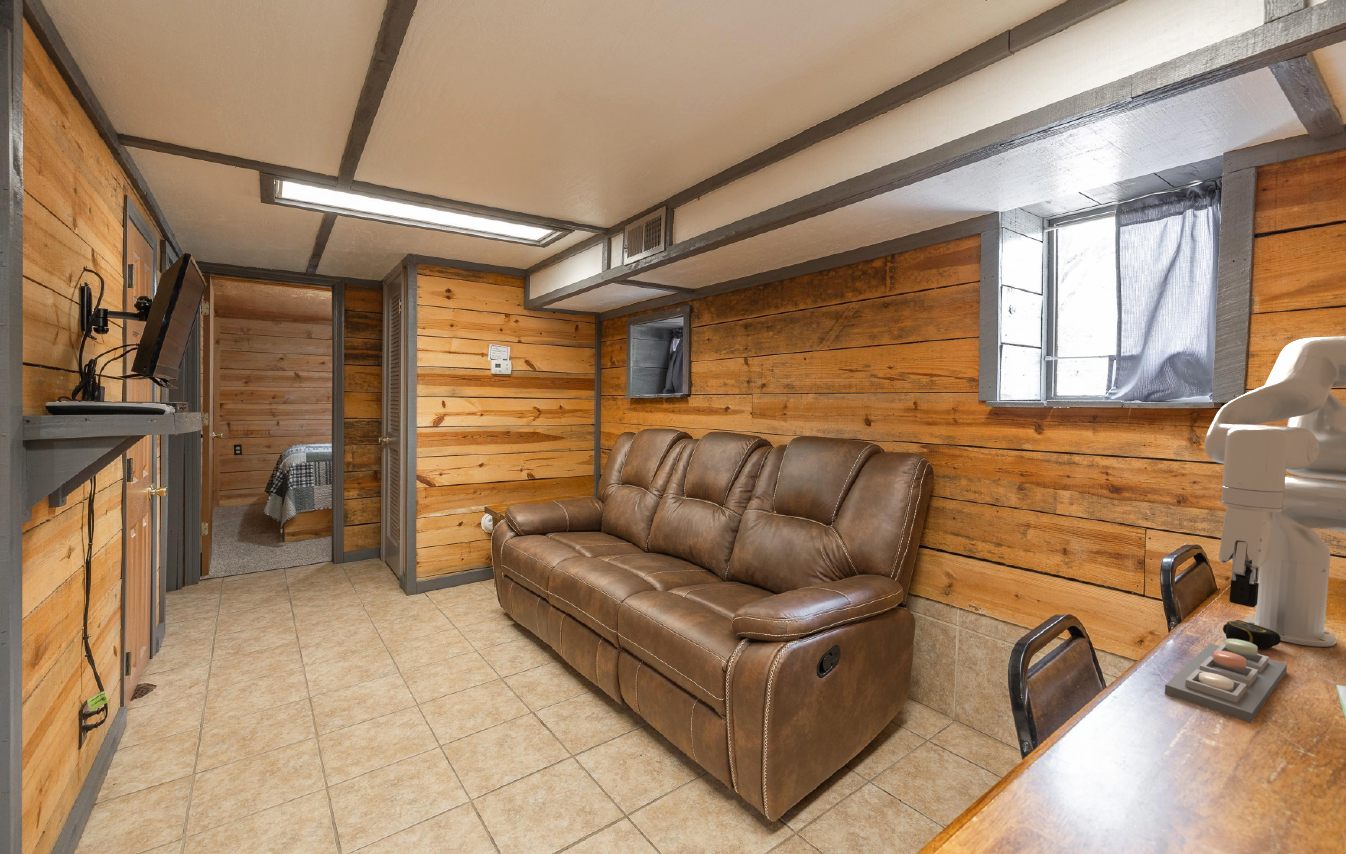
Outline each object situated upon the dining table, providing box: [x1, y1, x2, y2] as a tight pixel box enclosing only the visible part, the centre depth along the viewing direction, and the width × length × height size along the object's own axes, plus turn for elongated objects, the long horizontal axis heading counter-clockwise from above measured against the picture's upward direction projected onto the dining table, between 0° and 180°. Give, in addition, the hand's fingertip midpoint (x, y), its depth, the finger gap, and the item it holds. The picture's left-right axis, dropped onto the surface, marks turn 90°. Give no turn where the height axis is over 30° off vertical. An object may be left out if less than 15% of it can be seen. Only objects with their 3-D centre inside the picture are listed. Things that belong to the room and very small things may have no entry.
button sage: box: [1224, 638, 1258, 656], centre depth 101 cm, size 4×4×1 cm
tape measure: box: [1222, 619, 1281, 650], centre depth 111 cm, size 7×7×4 cm
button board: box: [1164, 642, 1288, 724], centre depth 97 cm, size 26×10×3 cm, turn 125°
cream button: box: [1199, 672, 1234, 692], centre depth 92 cm, size 4×4×1 cm
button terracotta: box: [1213, 651, 1247, 669], centre depth 96 cm, size 4×4×1 cm
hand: (1243, 603), depth 100 cm, fingers closed
